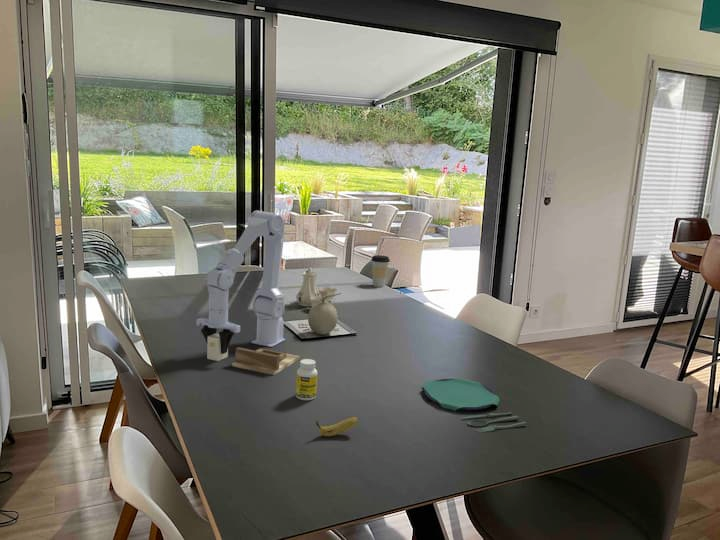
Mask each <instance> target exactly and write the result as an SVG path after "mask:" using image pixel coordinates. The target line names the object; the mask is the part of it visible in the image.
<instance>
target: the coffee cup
mask: <svg viewBox="0 0 720 540" xmlns="http://www.w3.org/2000/svg"><path fill="white" fill-rule="evenodd" d="M389 262H391V261H390V259H389V256H388V255H387V256H386V255H378V254H377V255H373V256H372V257H371V264H372V265H371V273H372V275H371V276H372V286H373V287H378V288H383V287H382V286H384V287H385V283H386V279H387V274H388V267H389Z"/></svg>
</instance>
